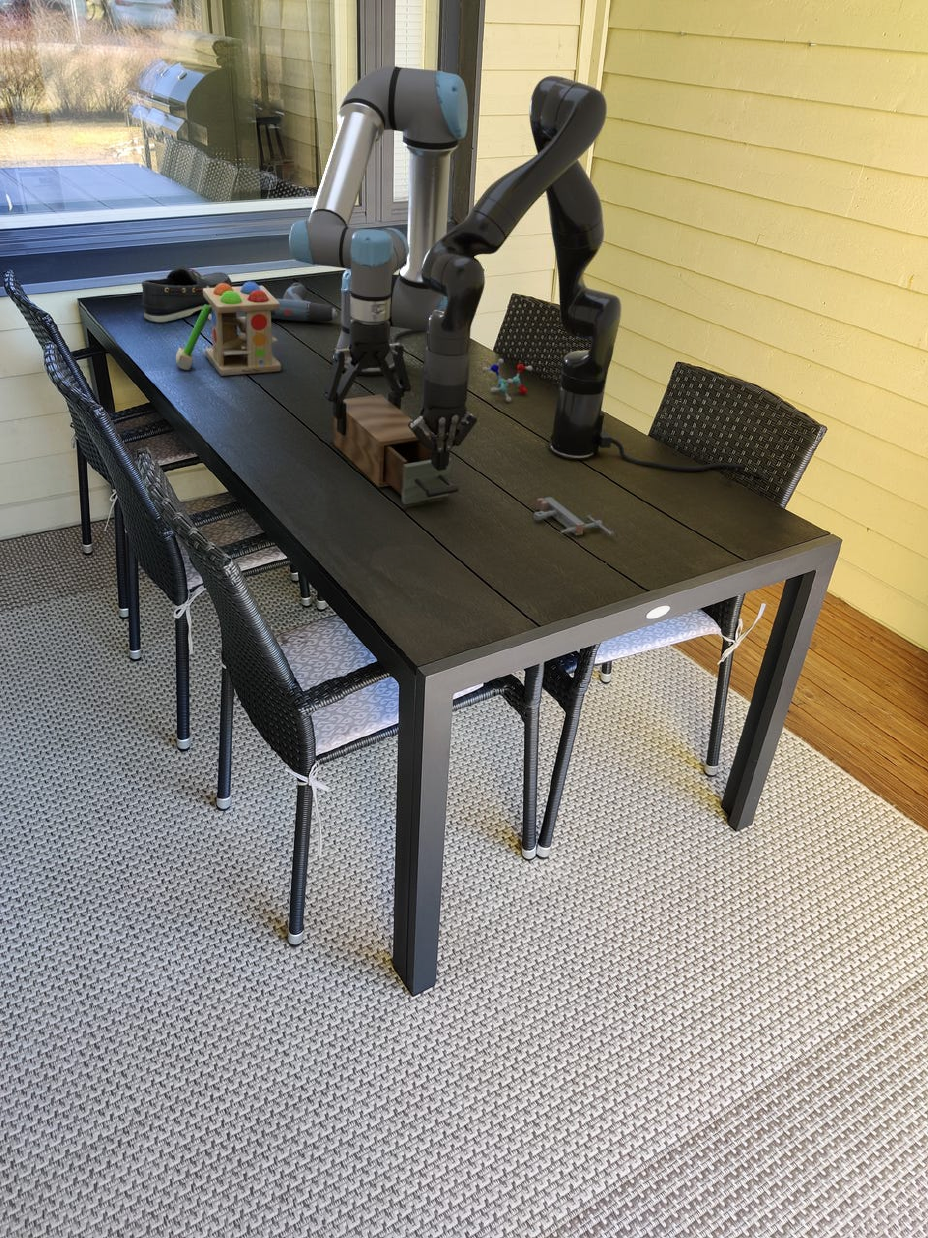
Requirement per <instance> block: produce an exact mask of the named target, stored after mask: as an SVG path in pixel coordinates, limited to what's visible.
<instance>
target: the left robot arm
mask: <svg viewBox="0 0 928 1238" xmlns="http://www.w3.org/2000/svg"><path fill="white" fill-rule="evenodd" d="M468 121H469V105H468V95H467V89H466V85H465V82H464V79H462V78H461V76H459V75H458V74H455V73H450V72H445V71H442V70H433V69H423V68H413V67H402V66H401V67H400V66H397V65H385V66H381V67H378V68H376V69H373V70H371V71H370V72H368V73H367V74H365V75H363V76H362V77H361V78H360V79H359V80H358V81H357V82H355V84H354V85H353V86H352V87H351V88H350V90H349V91H348V92H347V93H346V95H345V97H344V99H343V100H342V102H341V105H340V108H339V110H338V114H337V124H338V126H339V127H338V130H337V133H336V136H335V139H334V142H333V144H332V148H331V151H330V154H329V157H328V160H327V163H326V166H325V170H324V172H323V175H322V178H321V181H320V185H319V187H318V191H317V193H316V195H315V199H314V202H313V205H312V209H311V211H310V214H309V218H308V220H306V219H303V220H299V219H298V220H295V222H294V223H293V224H292V225H291V227H290V231H289V232H290V233H289V238H288V245H289V246H288V248H289V251H290V255H291V257H292V258H293V259H294V261H297V262H301V263H304V264H308V265H312V266H315V265H318V266H324V267H333V268H339V269H340V268H341V269H346V270H345V271H344V272H343V274H342V281H341V287H340V292H341V316H340V317H341V319H340V321H341V324H340V325H341V326H340V329H341V330H340V336H339V338H338V341H337V344H336V347H334V349H333V361H332V365H331V368H330V372H329V375H328V377H327V382H326V385H325V388H324V392H323V397H324V398H325V399H326V400H327V401H329V402H330V403H332V415H333V418H334V417H335V418H336V419H337V431H338V432H339V433H340V434H341V435H342V436H343V435H346V403H345V402H344V401H343V400H344V399H346V397H347V395H348V393H349V391H350V390H351V388H352V386H353V384H354V383H355V381H356V379H357V377H358V376H380V375H381V376H382V375H383V378H384V379H385V380H386V383H387V384H388V386H389V388H390V389H391V391H390V392H388V393H387V400H388V401H389V402H391V403H392V404H393V405H394V406H396V407H397V408H398V409H399V410H400V411H401V408H402V398H404V396H405V393H409V392H411V389H412V387H411V382H410V380H409V375H408V371H407V367H406V363H405V359H404V352H405V351H404V349H405V346H403V345H402V344H401V343H400V342H399V341H397V340H398V339H399V338H401V337H404V336H406V335H410V334H415V333H419V332H424V333H426V334H427V330H428V320H429V317H430V314H431V313H432V312H433V311H435V310H438V309H444V308H446V306H447V301H448V297H446V296H443V295H441V294H439V293H436V292H434V291H432V290H430V289H429V288H427V287H426V286H425V284H424V283H423V281H422V277H421V268H422V264H423V261H424V258H425V256H426V254H427V253H428V251H429V250H430V249H431V248H432V247H433V245H434V244H435V243H437V242H438V241H439V240H440V239H441V238H442V237H444V236H445V235H446V234H447V226H448V205H449V190H450V189H449V186H450V170H451V169H450V167H451V154H452V153H453V152H454V151H456V149H457V148H458V146H459V140H461V139H464V138H465V137H466V135H467V130H468ZM385 131H395V132H402V144H403V145H404V146H405V148H406V149H407V150H408V152H409V163H408V164H409V165H408V166H409V167H408V203H407V237H406V236H405V235H404V234H403V232H401V231H400V230H399V229H397V228H393V227H385V228H381V229H374V228H372V229H369V228H368V229H367V228H366V229H365V228H357V227H350V226H349V224H350V221H351V218H352V214H353V212H354V209H355V206H356V202H357V199H358V197H359V193H360V190H361V188H362V187H361V186H362V183H363V181H364V178H365V175H366V172H367V168H368V165H369V162H370V159H371V156H372V153H373V151H374V150H373V149H374V147H375V143H376V142H378V141H380V139H382V137H383V135H384V132H385ZM405 262H406V263H405ZM397 271H399V274H395V273H396V272H397ZM391 327H392V328H399V329H406V330H403V331H400V332H398V333H396V334H395V335H394V336H393V337H391V336H392V335H391ZM393 371H396V375H397V379H398V381H397V379H396V377H395V375H394V374H393ZM343 372H344V374H343ZM342 375H343V376H342Z"/></svg>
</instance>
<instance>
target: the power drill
mask: <svg viewBox="0 0 928 1238" xmlns="http://www.w3.org/2000/svg"><path fill="white" fill-rule="evenodd" d="M307 295H308V290H307V287H306V285H304V284H303V283H301V282H293V283H292V284H291V285H290V286H289V287H288V288H287V289H286V291H285V292H284V294H283V297H282V298H275V299H276V300H277V301H278V302H279V303H280V310H271V319H274V320H275V319H276V320H283V321H294V322H295V321H297V322H332V321H333V320H334V319H336V318H337V317H338V312H337V311H336V308H334V307H333V306H332V305H331V304H324V303H317V302H313V301H307V300H305V299H306V297H307Z"/></svg>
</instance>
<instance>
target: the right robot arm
mask: <svg viewBox="0 0 928 1238" xmlns="http://www.w3.org/2000/svg"><path fill="white" fill-rule="evenodd" d="M607 114H608V105H607V100H606V98H605V95H604V94H603V92H602V91H600V90H599V89H597V88H595V87H594V86H591V85H588V84H586V83H582V82H579V81H577V80H573V79H570V78H566V77H563V76H559V75H549V76H545V77H543V78H542V79H540V80H539V81H538V83H537V84H536V86H535V87H534V89H533V91H532V94H531V97H530V102H529V124H530V130H531V134H532V138H533V143H534V146H535V150H536V153H537V154H536V155H534V156H533V157H532V158H530V159H529V160H527V161H526V162H524V163H522V164H520V165H519V166H517V167H515V168H514V169H512V170H509V172H506V173H505V174H504V175H502V176H501V177H499V178H498V179H497V180H495V181H493V183H491V184H490V186H489V187H488V188H487V189H486V190H485V191H484V192H483V194H482V195H481V196H480V198H479V199H478V200H477V201H476V203H475V205H474V206H472V209H470V212H469V213H468V214H467V215H466V217H465V219H463V220H462V221H461V222H460V223H458V224H457V225H456V226H454V227H453V228H451V229H450V230H449V231H448V232H446V235H445V236H444V237H442V238H441V239H440V240H439V241H438V242H437V243H435V244H434V245H433V247H432V248H431V249H430V250H429V251H428V253H427V254H426V256H425V258H424V261H423V264H422V268H421V277H422V281H423V283H424V284H425V286H426V287H427V288H429V289H430V290H432V291H434V292H436V293H439V294H441V295H443V296H446V297H448V301H447V306H446V308H444V309H438V310H435V311H433V312H432V313H431V314H430V317H429V320H428V330H427V333H426V347H425V354H424V360H423V371H422V373H423V375H422V376H423V377H422V378H423V379H422V393H421V394H422V395H421V399H422V407H421V409H420V411H419V416H418V418H416V419H415V420H413V421H414V422H413V421H410V422H409V423H408V427H409V428H410V429H411V431H412V432H413V433H414V434H415V436H416V437H417V438H418V439H419V441H420V442H421V443H422V444H423V445H424V446H425V447H426V448H427V449H428V450H430V451H432V455H431V464H432V466H433V467H434V468H435V469H436V470H437V471H442V470H446V466H448V464H449V458H450V454H451V450H452V448H454V447H459V446H461V444H462V443H463V441H464V440H465V439H466V437H467V436H468V435H469V433H470V432H471V430H472V429H473V428H474V427H475V425H476V423H477V422H478V418H477V416H475V415H474V414H473V413H471V412H469V411H468V407H467V405H466V403H467V399H468V389H469V388H468V386H469V377H470V376H469V375H470V343H471V331H472V329H471V328H472V325H473V321H474V319H475V316H476V313H477V310H478V307H479V304H480V303H481V299H482V296H483V293H484V290H485V284H486V277H485V272H484V267H483V265H482V262H480V261H479V260H478V259H477V258H476V257H477V256H479V255H480V256H481V255H493V254H495V253H497V252H498V251H499V250H500V249H501V247H502V246H503V245H504V244H505V242H506V240H507V239H508V238H509V236H510V235H511V234H512V232H513V231H514V229H516V228H517V226H518V224H519V223H520V222H521V220H522V219H523V217H524V216H525V215H526V214H527V212H528V211H529V210H530V209H531V208H532V207H533V205H534V204H535V203H536V202H537V201H538V199H540V198H541V197H542V196H543V194H546V200H547V206H548V215H549V224H550V230H551V236H552V243H553V247H554V252H555V259H556V267H557V268H556V269H557V277H558V297H559V300H558V301H559V317H560V322H561V326H562V329H563V331H564V332H566V333H567V334H568V335H571V336H573V337H577V338H579V339H584V340H587V341H591V344H590V346H589V349H585V350H584V349H583V350H575V351H572V352H569V353H567V354H566V355H564V357H563V359H562V364H561V372H560V373H561V374H560V379H559V387H558V391H557V392H558V393H557V399H556V407H555V412H554V413H555V414H554V420H553V426H552V427H553V428H552V434H551V436H550V438H549V439H550V445H549V451H550V452H551V453H552V454H554V455H555V456H557V457H559V458H562V459H566V460H572V461H585V460H589V459H591V458H593V457H598V455H599V449H605V448H607V449H609V448H611V444H613V445H615V446H616V448H618V450H619V451H618V452H619V455H620V457H621V459H623V460H624V461H626V462H628V463H631V464H635V465H638V466H643V467H651V468H658V469H664V470H670V471H683V472H700V471H705V470H709V469H714V468H715V469H717V468H725V469H737V470H744V471H746V470H745V469H743V468H745V467H744V466H743V465H744V464H739V463H728V462H727V463H726V462H714V463H708V464H704V465H698V466H697V465H696V466H687V465H686V466H684V465H683V466H682V465H672V464H666V463H660V462H655V461H643V460H637V459H634V458H631V457H629V456H628V455H627V454H626V453H625V449H624V446H623V444H622V443H621V442H619V441H618V440H617V439H615V438H613V437H612V436H611V435H610V434H609V433H608V432H607V431H606V430H605V429H604V428H603V425H604V420H605V412H604V411H603V409H602V407H603V401H604V398H605V397H604V396H605V391H606V384H607V379H608V373H609V368H610V365H611V361H612V359H613V355H614V349H615V344H616V340H617V335H618V332H619V326H620V322H621V319H622V302H621V299H620V298H619V296H618V295H615V294H612V293H608V292H604V291H600V290H596V289H593V288H589V287H588V286H587V285H586V283H585V277H584V275H585V272H586V269H587V268H588V266H589V265H590V264H591V263H592V262H593V260H594V258H595V257H596V256H597V254H598V253H599V251H600V250H601V247H602V246H603V243H604V240H605V224H604V223H605V222H604V211H603V206H602V201H601V198H600V196H599V194H598V191H597V189H596V188H595V186H594V184H593V182H592V181H591V179H590V177H589V175H588V174H587V172H586V171H585V169H584V167H583V165H582V164H581V162H580V160H579V159H580V158H581V157H582V156H583V155H584V154H585V153H586V152H587V151H588V150H589V149H590V148H591V146H592V145H593V144H594V143H595V142H596V140H598V137H599V136H600V134H601V132H602V131H603V128H604V126H605V123H606V119H607ZM425 426H426V427H427V428H428V433H429V434H430V440H429V438H428V437H427V436H426V434H425V433H424V431H426V427H425ZM753 474H754V475H755V476H757V478H758V479H759V480H761V481H766V479H765V476H764V475H763V474H762V473H761V474H756V473H753Z"/></svg>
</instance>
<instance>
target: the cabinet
mask: <svg viewBox="0 0 928 1238" xmlns="http://www.w3.org/2000/svg"><path fill="white" fill-rule="evenodd" d="M343 401H344V402H345V403H346V435H343V436H342V435H341V434H340V433H339V432H338V431H337V419H336V418H335V417H334V416H333V445H334V446H335V447H336V448H337V449H338V450H340V451H341V453H343V454H344V455H345V457H346V458H348V459H349V460H350V461H351V463H353V464H354V465H355V466H356V467H357V468H358V469H359V470H360V471H361V472H362V473H363V474H364V475H365V476H366V477H368V478H369V479H370V481H372V483H373V484H375V485H376V487H378V488H384V487H389V486H391V485H390V484H389V483H388V482H387V481H386V480H385V479H384V478H383V465H384V446H385V445H391V444H397V443H403V442H410V441H416V440H419V439H418V438H417V437H416V436H415V434H414V433H413V432H412V431H411V429H410V428H409V427H408V423H409V422H410V421H413V422H414V421H415V420H413V419H412V418H410V417H409V416H408V415H407V414H406V413H405V412H403V411H402V410H401V409H400V410H399V409H398V408H397V407H396V406H394V405H393V404H392V403H391V402H389V401H388V398H386V397H384V396H383V395H382V394H374V395H365V396H357V397H351V398H345V399H344V400H343ZM424 433H425V434H426V436H427V437H428V438H429V440H430V441H431V436H430V433H429V431H427V430H425V431H424Z"/></svg>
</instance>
